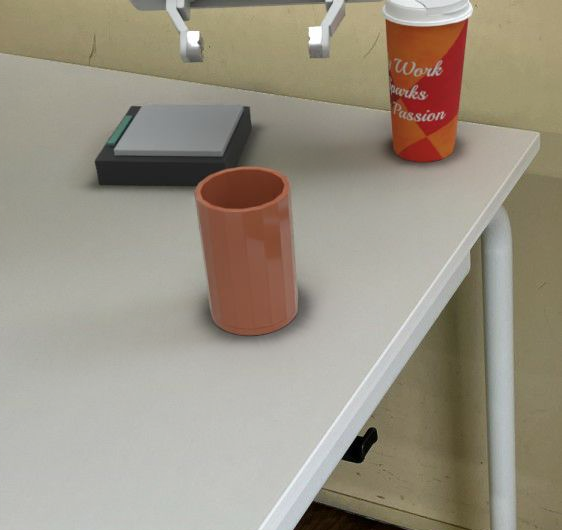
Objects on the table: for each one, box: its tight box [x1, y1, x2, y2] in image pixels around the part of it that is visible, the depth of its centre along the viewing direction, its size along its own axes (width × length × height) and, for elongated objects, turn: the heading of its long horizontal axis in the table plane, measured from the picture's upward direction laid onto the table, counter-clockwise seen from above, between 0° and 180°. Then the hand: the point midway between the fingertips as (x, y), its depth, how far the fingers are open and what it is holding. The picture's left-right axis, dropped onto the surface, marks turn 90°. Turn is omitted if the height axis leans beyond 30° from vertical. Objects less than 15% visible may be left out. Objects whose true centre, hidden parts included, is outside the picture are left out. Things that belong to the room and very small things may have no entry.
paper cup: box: [380, 0, 474, 163], centre depth 89 cm, size 8×8×14 cm
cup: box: [194, 166, 299, 336], centre depth 71 cm, size 6×6×10 cm
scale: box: [94, 103, 253, 187], centre depth 94 cm, size 12×12×3 cm
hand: (254, 57), depth 74 cm, fingers open, 8 cm apart
